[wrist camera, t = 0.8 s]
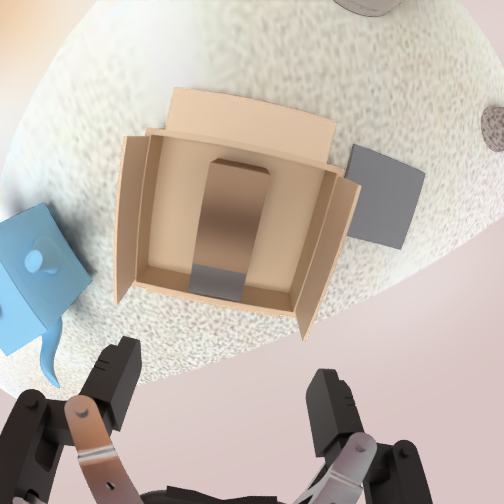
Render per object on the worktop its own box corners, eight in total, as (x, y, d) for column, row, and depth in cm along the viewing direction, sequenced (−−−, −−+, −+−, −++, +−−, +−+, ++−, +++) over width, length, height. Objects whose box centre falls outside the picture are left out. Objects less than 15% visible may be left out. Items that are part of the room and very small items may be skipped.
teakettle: (15, 291, 34) (-35, 340, 20) (8, 182, 27) (-66, 213, 13) (103, 330, 36) (61, 402, 22) (108, 209, 29) (28, 261, 15)
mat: (353, 144, 27) (355, 144, 26) (423, 172, 28) (425, 173, 27) (328, 229, 30) (330, 231, 30) (398, 248, 31) (400, 249, 31)
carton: (169, 93, 24) (135, 74, 16) (339, 129, 26) (378, 126, 17) (144, 269, 32) (113, 313, 23) (290, 298, 34) (303, 350, 25)
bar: (217, 158, 27) (209, 162, 21) (266, 168, 27) (271, 175, 22) (198, 264, 31) (188, 291, 26) (241, 272, 32) (240, 301, 26)
